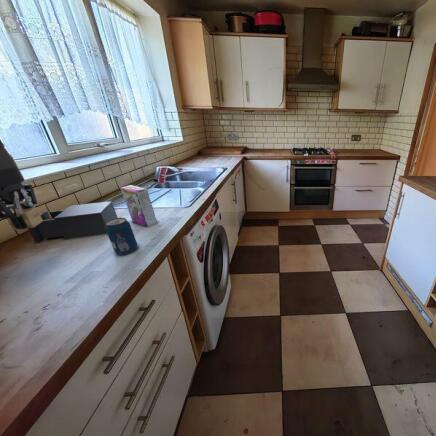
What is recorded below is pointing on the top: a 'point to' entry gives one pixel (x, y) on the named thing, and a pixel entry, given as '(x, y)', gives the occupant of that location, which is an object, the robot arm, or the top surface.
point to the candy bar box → (139, 205)
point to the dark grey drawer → (46, 226)
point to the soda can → (121, 236)
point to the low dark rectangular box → (85, 219)
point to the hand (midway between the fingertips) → (28, 224)
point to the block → (29, 217)
